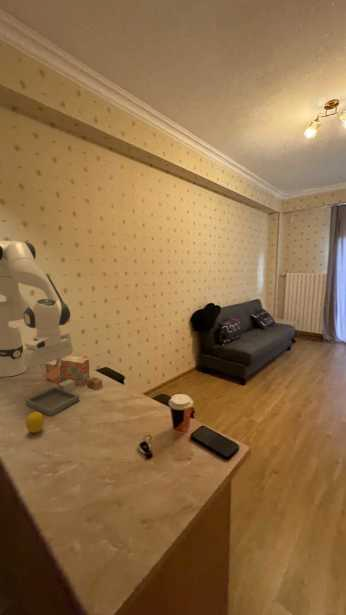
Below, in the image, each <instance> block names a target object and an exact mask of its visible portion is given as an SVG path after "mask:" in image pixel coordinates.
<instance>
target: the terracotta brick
mask: <svg viewBox="0 0 346 615" xmlns="http://www.w3.org/2000/svg"><path fill="white" fill-rule="evenodd" d="M45 368H48V373H46V374H44V373H43V371H42V370H41V374H42V377H44V378H46V379H47V378H49V379H51V380H52V379H54V378H57V377H59V376H60V367H57V366H54V365H51V364H50V365H47V366H45Z"/></svg>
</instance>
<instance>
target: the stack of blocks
mask: <svg viewBox="0 0 346 615" xmlns="http://www.w3.org/2000/svg"><path fill="white" fill-rule="evenodd" d="M56 361H57V360H54V361H51V362H48V363H46V366H47V365H50V364H51V365H55V364H56ZM90 378H91V376H90V358H86V357H80V356H71V355H68V356H65V357H63V358H62V360H61V363H60V376H59V377H57V378H54V379H52V380H51V379H49V378H46V381H49V382H54V383H58V384H59V383H61V382H64V381H66V380H68V379H70V380H73V381H75V386H79V387H84V386H85V385H86V384H87V380H88V379H90Z"/></svg>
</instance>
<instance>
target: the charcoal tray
mask: <svg viewBox="0 0 346 615" xmlns="http://www.w3.org/2000/svg"><path fill="white" fill-rule="evenodd" d="M78 402H80V395H79V394H76V393H72V392H70V391H69V392H68V391H65V390H62V389H59V388H58V386H57V387H56V386H54V387H51V388H50V389H48V390H46V391H43V392H41V393H39V394H37V395H34V396H31V397H30V398H28V399H26V400H25V404H26V407H29V408H31V409H34V410H35V411H36V412H39V413H41V414H44V415H47V416H49V417H50V418H51V417H53V416H56V415H57V414H58V413H60V412H62V411H64V410H65V409H68V408H70V407H71V406H73V405H75V404H77V403H78Z"/></svg>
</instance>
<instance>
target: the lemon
mask: <svg viewBox="0 0 346 615" xmlns="http://www.w3.org/2000/svg"><path fill="white" fill-rule="evenodd" d="M44 420H45V418H44V417H43V413H42V412H39V411H33V412H31V413H30V414H28V416H27V418H26V422H25V424H26V426H25V427H26V429H27V430H28V431H29V432H30V433H34V434H35V433H38V432H39V431H41V430H42V428H43V427H44V423H45V421H44Z"/></svg>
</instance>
